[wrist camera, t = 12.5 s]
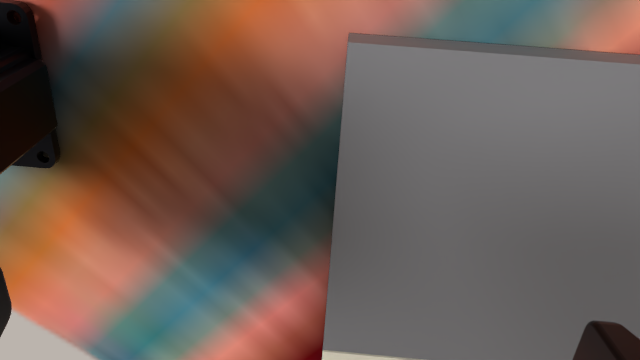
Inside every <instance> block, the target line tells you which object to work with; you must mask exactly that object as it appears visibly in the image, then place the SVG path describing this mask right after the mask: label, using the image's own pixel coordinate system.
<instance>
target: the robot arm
mask: <svg viewBox="0 0 640 360" xmlns="http://www.w3.org/2000/svg"><path fill="white" fill-rule="evenodd" d="M13 10H14V11H16V12H17V13H18V14H19V15H20V17H21V22H19V21H17V20H16V19H15V18H14V16H13ZM56 127H57V119H56V114H55V108H54V103H53V98H52V93H51V87H50V82H49V77H48V71H47V67H46V65H45V64H44V62H43V61H42V57H41V52H40V46H39V41H38V36H37V31H36V25H35V20H34V16H33V13H32V10H31V9H30V8H29V7H28V5H26V4H25V3H23V2H20V1H15V0H0V174H1V173H2V172H4V171H5V170H6V169H7V168H8V167H10V166H11V165H14V166H26V167H37V168H50V167H52V166H54V165H55V164H56V163H57V162H58V160H59V159H60V151H59V145H58V140H57V135H56V130H55V128H56ZM42 152H45V153H47V154H48V156H49V158H46V157H45V156H44V155H43V154H42ZM10 315H11V300H10V297H9V293H8V289H7V286H6V282H5V279H4V275H3V272H2V269H1V268H0V337H1V335H2V333H3V331H4V329H5V327H6V325H7V323H8V320H9V318H10ZM573 360H640V339H639V338H638V337H636V336H635V335H634V334H633V333H631V332H630V331H629V330H628V329H626V328H625V327H624V326H622V325H621V324H619V323H616V322H608V321H597V320H593V321H590V322H589V323H588V324H587V325H586V326H585V328H584V331H583V334H582V336H581V339H580V341H579V344H578V346H577V349H576V351H575V354H574V357H573Z"/></svg>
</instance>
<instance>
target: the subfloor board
mask: <svg viewBox="0 0 640 360" xmlns="http://www.w3.org/2000/svg"><path fill="white" fill-rule="evenodd" d="M593 320H597V321H608V322H616V323H619V324H621V325H622V326H624V327H625V328H626V329H628V330H629V331H630V332H631V333H633V334H634V335H635V336H636V337H638V338H639V339H640V55H634V54H621V53H608V52H595V51H582V50H568V49H555V48H542V47H529V46H515V45H502V44H489V43H476V42H463V41H449V40H436V39H423V38H410V37H397V36H383V35H370V34H357V33H349V36H348V46H347V59H346V71H345V83H344V96H343V108H342V120H341V132H340V145H339V157H338V169H337V182H336V194H335V206H334V218H333V231H332V243H331V255H330V268H329V280H328V292H327V304H326V317H325V329H324V341H323V353H322V360H573V357H574V354H575V351H576V349H577V346H578V344H579V341H580V339H581V336H582V334H583V331H584V328H585V326H586V325H587V324H588V323H589V322H590V321H593Z"/></svg>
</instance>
